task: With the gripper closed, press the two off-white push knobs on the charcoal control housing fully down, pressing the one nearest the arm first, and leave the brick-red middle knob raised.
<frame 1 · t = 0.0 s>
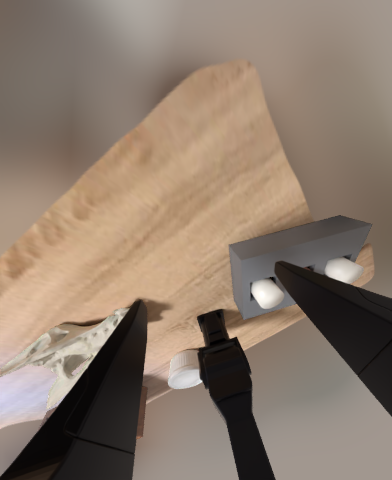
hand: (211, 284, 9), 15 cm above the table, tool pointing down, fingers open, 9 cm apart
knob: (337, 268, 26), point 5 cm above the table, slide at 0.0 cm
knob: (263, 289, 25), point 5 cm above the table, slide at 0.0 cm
housing: (281, 262, 30), on the table
skull: (94, 327, 30), on the table
ramekin: (186, 356, 42), on the table
tissue box cover: (100, 397, 45), on the table
knob middle: (301, 278, 26), point 5 cm above the table, slide at 0.0 cm
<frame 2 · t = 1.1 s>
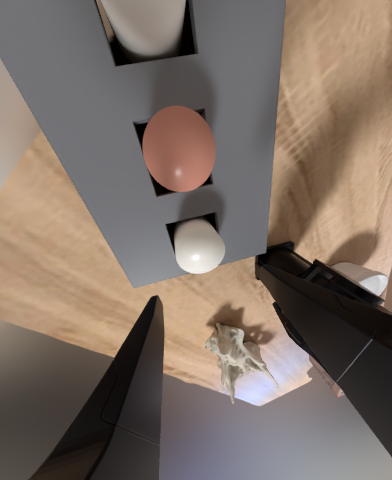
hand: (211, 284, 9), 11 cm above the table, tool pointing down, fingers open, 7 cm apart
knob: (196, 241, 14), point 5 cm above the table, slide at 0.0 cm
housing: (175, 160, 15), on the table
skull: (231, 343, 36), on the table
ramekin: (330, 277, 31), on the table
tissue box cover: (327, 337, 46), on the table
knob middle: (178, 156, 10), point 5 cm above the table, slide at 0.0 cm
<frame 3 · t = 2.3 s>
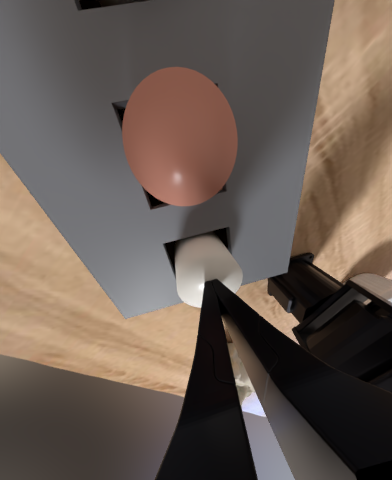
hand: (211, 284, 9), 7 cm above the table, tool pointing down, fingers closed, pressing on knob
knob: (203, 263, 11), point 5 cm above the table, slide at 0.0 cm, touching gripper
housing: (175, 160, 12), on the table
skull: (238, 359, 33), on the table
ramekin: (349, 289, 27), on the table
knob middle: (179, 154, 7), point 5 cm above the table, slide at 0.0 cm
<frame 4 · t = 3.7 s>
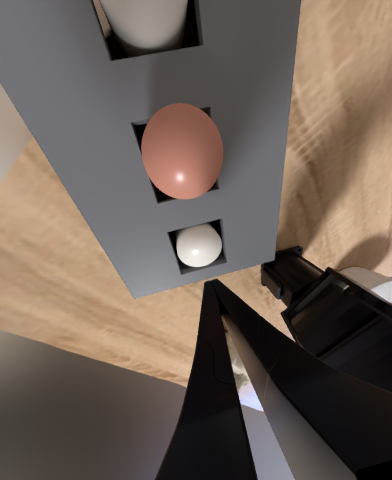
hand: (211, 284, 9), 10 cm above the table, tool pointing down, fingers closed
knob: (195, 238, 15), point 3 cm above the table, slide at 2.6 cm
housing: (177, 163, 14), on the table
skull: (235, 349, 35), on the table
ramekin: (339, 282, 29), on the table
knob middle: (181, 160, 9), point 5 cm above the table, slide at 0.0 cm
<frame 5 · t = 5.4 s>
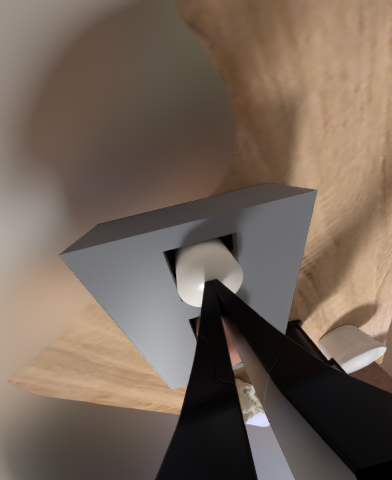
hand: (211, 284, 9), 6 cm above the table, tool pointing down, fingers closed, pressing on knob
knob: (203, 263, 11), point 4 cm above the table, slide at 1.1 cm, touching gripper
housing: (206, 288, 18), on the table
skull: (242, 387, 39), on the table
ramekin: (334, 334, 34), on the table
tissue box cover: (331, 372, 49), on the table
knob middle: (218, 329, 14), point 5 cm above the table, slide at 0.0 cm
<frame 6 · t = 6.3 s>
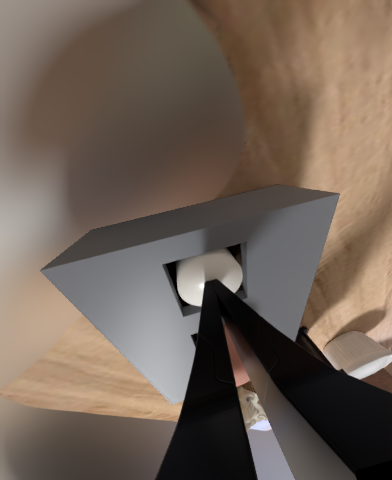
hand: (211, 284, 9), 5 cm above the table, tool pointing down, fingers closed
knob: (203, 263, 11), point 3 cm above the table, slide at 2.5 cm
housing: (208, 296, 17), on the table
skull: (244, 393, 38), on the table
ramekin: (339, 340, 33), on the table
tissue box cover: (335, 377, 48), on the table
knob middle: (223, 344, 12), point 5 cm above the table, slide at 0.0 cm
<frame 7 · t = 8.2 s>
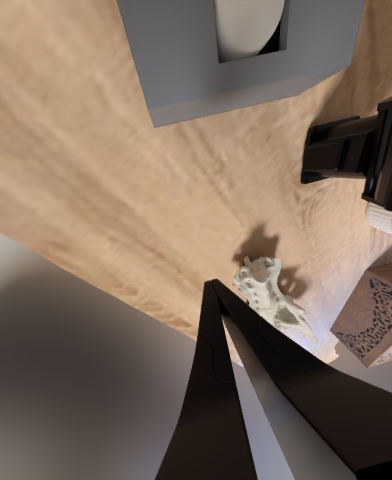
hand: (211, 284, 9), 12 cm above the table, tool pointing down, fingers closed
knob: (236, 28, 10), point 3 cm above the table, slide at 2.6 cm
skull: (258, 293, 30), on the table
ramekin: (387, 198, 24), on the table
tissue box cover: (365, 297, 40), on the table
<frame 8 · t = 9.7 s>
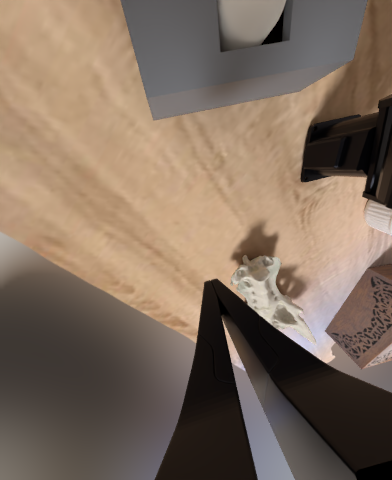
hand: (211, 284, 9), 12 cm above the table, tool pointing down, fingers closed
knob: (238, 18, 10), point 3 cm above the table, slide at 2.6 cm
skull: (256, 293, 30), on the table
ramekin: (385, 199, 24), on the table
tissue box cover: (362, 298, 40), on the table
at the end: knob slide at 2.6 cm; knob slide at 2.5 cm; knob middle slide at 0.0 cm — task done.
